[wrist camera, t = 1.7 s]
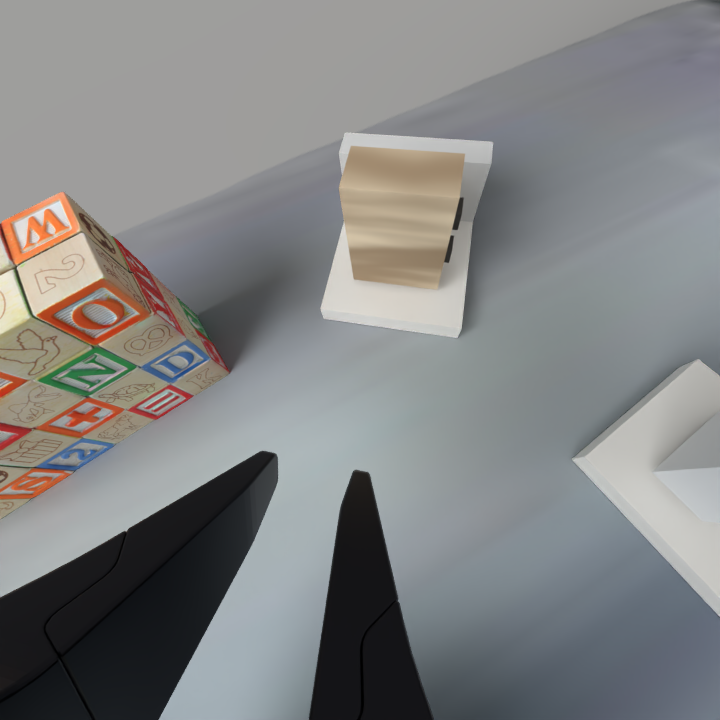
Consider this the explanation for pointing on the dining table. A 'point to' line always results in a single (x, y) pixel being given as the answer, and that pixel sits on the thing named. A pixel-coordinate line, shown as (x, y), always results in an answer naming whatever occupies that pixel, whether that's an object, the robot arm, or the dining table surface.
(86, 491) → the dining table surface
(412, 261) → the two dot key
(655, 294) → the dining table surface
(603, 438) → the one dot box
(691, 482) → the one dot key
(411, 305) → the white l-shaped holder
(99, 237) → the stack of blocks
